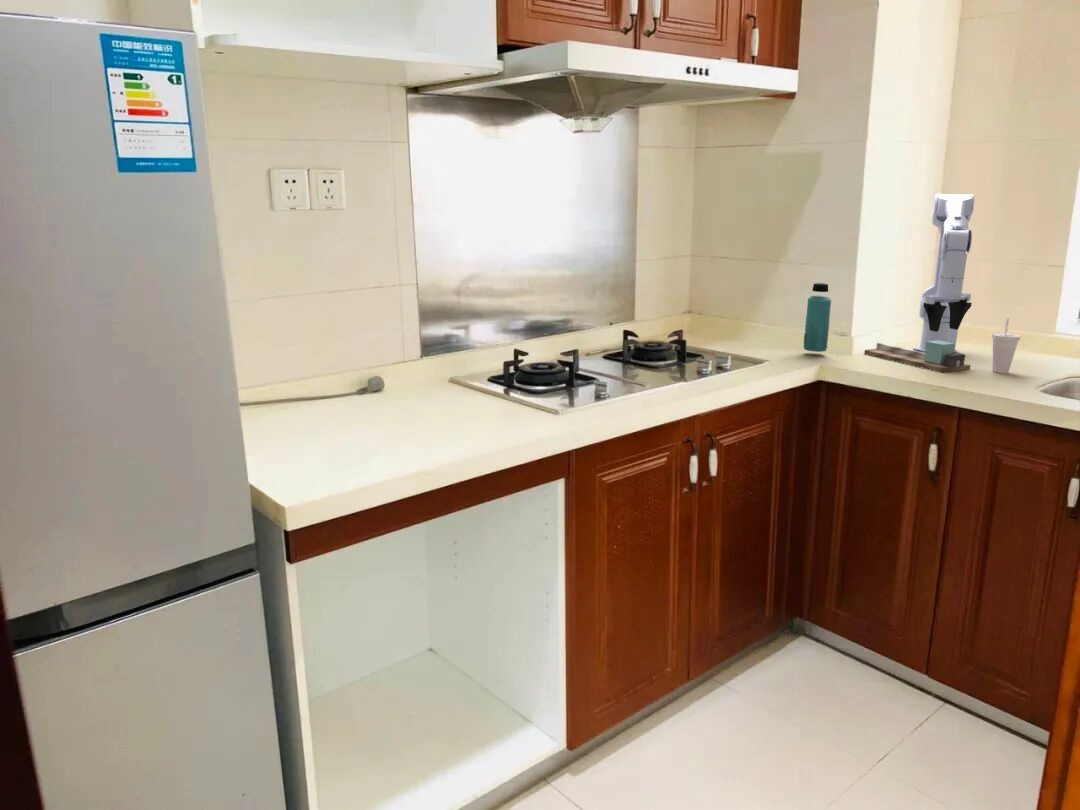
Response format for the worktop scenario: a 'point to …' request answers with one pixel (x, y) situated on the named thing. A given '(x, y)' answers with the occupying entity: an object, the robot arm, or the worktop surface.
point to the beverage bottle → (817, 320)
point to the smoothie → (1003, 350)
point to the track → (918, 358)
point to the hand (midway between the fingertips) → (943, 330)
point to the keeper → (937, 351)
